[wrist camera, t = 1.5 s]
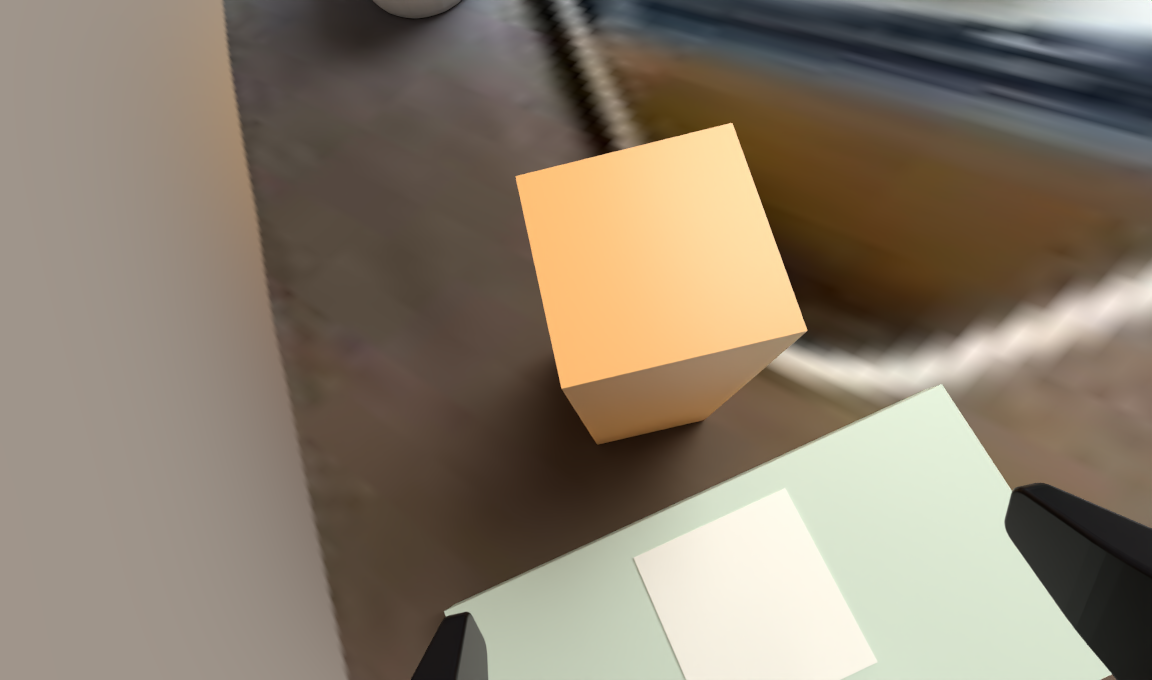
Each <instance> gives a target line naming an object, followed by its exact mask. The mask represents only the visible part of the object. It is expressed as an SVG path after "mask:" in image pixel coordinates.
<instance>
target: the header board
mask: <svg viewBox="0 0 1152 680" xmlns="http://www.w3.org/2000/svg"><path fill="white" fill-rule="evenodd" d="M1011 493H1012V491H1011V489H1010V487H1009V486H1008V484H1007V483H1006V481H1005V480H1004V478H1003V477H1002V475H1001V474H1000V472H999V471H998V469H997V468H996V466H995V465H994V463H993V462H992V460H991V459H990V457H989V455H988V454H987V452H986V451H985V449H984V448H983V446H982V445H981V443H980V442H979V440H978V439H977V437H976V436H975V434H974V433H973V431H972V430H971V428H970V427H969V425H968V423H967V422H966V420H965V419H964V417H963V416H962V414H961V413H960V411H959V410H958V408H957V407H956V405H955V404H954V402H953V401H952V399H951V398H950V396H949V395H948V393H947V391H946V390H945V388H944V387H943V385H942V384H941V385H938V386H935V387H932V388H929V389H926V390H923V391H921V392H919V393H917V394H915V395H912V396H910V397H908V398H906V399H904V400H901V401H899V402H897V403H895V404H893V405H890V406H888V407H886V408H884V409H882V410H879V411H877V412H875V413H873V414H871V415H869V416H866V417H864V418H862V419H860V420H858V421H855V422H853V423H851V424H849V425H847V426H844V427H842V428H840V429H838V430H836V431H833V432H831V433H829V434H827V435H825V436H823V437H820V438H818V439H816V440H814V441H812V442H809V443H807V444H805V445H803V446H801V447H798V448H796V449H794V450H792V451H790V452H787V453H785V454H783V455H781V456H779V457H776V458H774V459H772V460H770V461H768V462H766V463H763V464H761V465H759V466H757V467H755V468H752V469H750V470H748V471H746V472H744V473H741V474H739V475H737V476H735V477H733V478H730V479H728V480H726V481H724V482H722V483H720V484H717V485H715V486H713V487H711V488H709V489H706V490H704V491H702V492H700V493H698V494H695V495H693V496H691V497H689V498H687V499H684V500H682V501H680V502H678V503H676V504H673V505H671V506H669V507H667V508H665V509H663V510H660V511H658V512H656V513H654V514H652V515H649V516H647V517H645V518H643V519H641V520H638V521H636V522H634V523H632V524H630V525H627V526H625V527H623V528H621V529H619V530H617V531H614V532H612V533H610V534H608V535H606V536H603V537H601V538H599V539H597V540H595V541H592V542H590V543H588V544H586V545H584V546H581V547H579V548H577V549H575V550H573V551H571V552H568V553H566V554H564V555H562V556H560V557H557V558H555V559H553V560H551V561H549V562H546V563H544V564H542V565H540V566H538V567H535V568H533V569H531V570H529V571H527V572H524V573H522V574H520V575H518V576H516V577H514V578H511V579H509V580H507V581H505V582H503V583H500V584H498V585H496V586H494V587H492V588H489V589H487V590H485V591H483V592H481V593H478V594H476V595H474V596H472V597H470V598H468V599H465V600H463V601H461V602H459V603H457V604H454V605H453V606H451V607H450V608H448V609H447V610H446V611H444V613H445V616H446V617H447V616H449V615H453V614H457V613H462V612H469V613H471V615H472V616H473V618H474V620H475V622H476V624H477V626H478V628H479V630H480V632H481V633H482V635H483V637H484V640H485V643H486V648H487V660H488V680H1101V679H1103V678H1105V677H1107V676H1109V675H1111V674H1112V673H1111V672H1110V671H1109V670H1108V669H1107V667H1106V666H1105V665H1104V664H1103V663H1102V662H1101V660H1100V659H1099V658H1098V657H1097V656H1096V654H1095V653H1094V652H1093V651H1092V650H1091V648H1090V647H1089V646H1088V645H1087V644H1086V642H1085V641H1084V640H1083V639H1082V638H1081V636H1080V635H1079V634H1078V633H1077V631H1076V630H1075V629H1074V628H1073V626H1072V625H1071V624H1070V622H1069V621H1068V620H1067V618H1066V617H1065V616H1064V614H1063V613H1062V611H1061V610H1060V609H1059V607H1058V606H1057V604H1056V603H1055V601H1054V600H1053V599H1052V597H1051V596H1050V594H1049V593H1048V592H1047V590H1046V589H1045V587H1044V586H1043V584H1042V583H1041V582H1040V580H1039V579H1038V577H1037V576H1036V575H1035V573H1034V572H1033V570H1032V569H1031V567H1030V566H1029V565H1028V563H1027V562H1026V560H1025V559H1024V558H1023V556H1022V555H1021V553H1020V552H1019V550H1018V549H1017V548H1016V546H1015V545H1014V543H1013V542H1012V541H1011V539H1010V538H1009V536H1008V534H1007V532H1006V529H1005V525H1004V520H1005V516H1006V512H1007V508H1008V504H1009V500H1010V496H1011Z"/></svg>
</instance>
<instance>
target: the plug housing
mask: <svg viewBox="0 0 1152 680" xmlns="http://www.w3.org/2000/svg"><path fill="white" fill-rule="evenodd" d="M516 180H517V185H518V190H519V194H520V199H521V204H522V208H523V213H524V217H525V222H526V227H527V231H528V236H529V241H530V245H531V250H532V254H533V259H534V264H535V268H536V273H537V278H538V282H539V287H540V291H541V296H542V301H543V305H544V310H545V315H546V319H547V324H548V328H549V333H550V338H551V342H552V347H553V352H554V356H555V361H556V365H557V370H558V375H559V379H560V384H561V389H562V390H563V392H564V393H565V395H566V397H567V398H568V400H569V401H570V403H571V404H572V406H573V408H574V409H575V411H576V412H577V414H578V415H579V417H580V419H581V420H582V422H583V423H584V425H585V426H586V428H587V429H588V431H589V433H590V434H591V436H592V437H593V439H594V440H595V442H596V444H597V445H599V444H603V443H607V442H612V441H616V440H620V439H625V438H629V437H633V436H638V435H642V434H646V433H650V432H655V431H659V430H663V429H668V428H672V427H676V426H680V425H685V424H689V423H693V422H698V421H702V420H705V419H706V418H707V417H708V416H709V415H711V414H712V413H713V412H714V411H715V410H716V409H718V408H719V407H720V406H721V405H722V404H723V403H724V402H726V401H727V400H728V399H729V398H730V397H731V396H733V395H734V394H735V393H736V392H737V391H738V390H740V389H741V388H742V387H743V386H744V385H745V384H746V383H748V382H749V381H750V380H751V379H752V378H753V377H755V376H756V375H757V374H758V373H759V372H760V371H762V370H763V369H764V368H765V367H766V366H767V365H768V364H770V363H771V362H772V361H773V360H774V359H775V358H777V357H778V356H779V355H780V354H781V353H782V352H783V351H785V350H786V349H787V348H788V347H789V346H790V345H792V344H793V343H794V342H795V341H796V340H797V339H799V338H800V337H801V336H802V335H803V334H804V333H805V332H807V328H806V326H805V323H804V320H803V317H802V314H801V312H800V309H799V306H798V303H797V301H796V298H795V295H794V292H793V290H792V287H791V284H790V281H789V279H788V276H787V273H786V270H785V267H784V265H783V262H782V259H781V256H780V254H779V251H778V248H777V245H776V243H775V240H774V237H773V234H772V232H771V229H770V226H769V223H768V220H767V218H766V215H765V212H764V209H763V207H762V204H761V201H760V198H759V196H758V193H757V190H756V187H755V185H754V182H753V179H752V176H751V173H750V171H749V168H748V165H747V162H746V160H745V157H744V154H743V151H742V149H741V146H740V143H739V140H738V138H737V135H736V132H735V129H734V126H733V124H732V123H730V124H726V125H722V126H718V127H714V128H710V129H705V130H701V131H697V132H693V133H689V134H685V135H681V136H677V137H673V138H669V139H665V140H661V141H657V142H653V143H649V144H645V145H641V146H637V147H632V148H628V149H624V150H620V151H616V152H612V153H608V154H604V155H600V156H596V157H592V158H588V159H584V160H580V161H576V162H572V163H568V164H563V165H559V166H555V167H551V168H547V169H543V170H539V171H535V172H531V173H527V174H523V175H519V176H516Z"/></svg>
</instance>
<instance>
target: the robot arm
mask: <svg viewBox="0 0 1152 680" xmlns="http://www.w3.org/2000/svg"><path fill="white" fill-rule="evenodd" d="M1004 525H1005V529H1006V532H1007V534H1008V536H1009V538H1010V539H1011V541H1012V542H1013V543H1014V545H1015V546H1016V548H1017V549H1018V550H1019V552H1020V553H1021V555H1022V556H1023V558H1024V559H1025V560H1026V562H1027V563H1028V565H1029V566H1030V567H1031V569H1032V570H1033V572H1034V573H1035V575H1036V576H1037V577H1038V579H1039V580H1040V582H1041V583H1042V584H1043V586H1044V587H1045V589H1046V590H1047V592H1048V593H1049V594H1050V596H1051V597H1052V599H1053V600H1054V601H1055V603H1056V604H1057V606H1058V607H1059V609H1060V610H1061V611H1062V613H1063V614H1064V616H1065V617H1066V618H1067V620H1068V621H1069V622H1070V624H1071V625H1072V626H1073V628H1074V629H1075V630H1076V631H1077V633H1078V634H1079V635H1080V636H1081V638H1082V639H1083V640H1084V641H1085V642H1086V644H1087V645H1088V646H1089V647H1090V648H1091V650H1092V651H1093V652H1094V653H1095V654H1096V656H1097V657H1098V658H1099V659H1100V660H1101V662H1102V663H1103V664H1104V665H1105V666H1106V667H1107V669H1108V670H1109V671H1110V672H1111V673H1112V675H1113V676H1114V677H1115V678H1116V679H1117V680H1152V528H1149V527H1147V526H1145V525H1142V524H1140V523H1138V522H1135V521H1133V520H1131V519H1128V518H1126V517H1124V516H1121V515H1119V514H1117V513H1114V512H1112V511H1110V510H1107V509H1105V508H1103V507H1100V506H1098V505H1096V504H1093V503H1091V502H1089V501H1086V500H1084V499H1082V498H1079V497H1077V496H1075V495H1072V494H1070V493H1068V492H1065V491H1063V490H1061V489H1058V488H1056V487H1054V486H1051V485H1048V484H1045V483H1033V484H1029V485H1024V486H1020V487H1017V488H1015V489H1014V490H1013V491H1012V493H1011V496H1010V500H1009V504H1008V508H1007V512H1006V516H1005V520H1004ZM411 680H488V660H487V648H486V643H485V640H484V637H483V635H482V633H481V632H480V630H479V628H478V626H477V624H476V622H475V620H474V618H473V616H472V615H471V613H469V612H462V613H457V614H453V615H449V616H447V617H446V618H444V619H443V621H442V622H441V624H440V626H439V628H438V630H437V632H436V633H435V635H434V637H433V639H432V641H431V643H430V645H429V646H428V648H427V650H426V652H425V654H424V656H423V658H422V660H421V661H420V663H419V665H418V667H417V669H416V671H415V673H414V674H413V676H412V678H411Z"/></svg>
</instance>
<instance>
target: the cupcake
mask: <svg viewBox="0 0 1152 680" xmlns="http://www.w3.org/2000/svg"><path fill="white" fill-rule="evenodd" d="M373 1H374V2H375V3H376V4H377V5H378V6H380V7H381V8H382V9H384V10H385V11H387V12H388V13H391V14H394V15H397V16H400V17H406V18H423V17H429V16H433V15H436V14H439V13H442V12H445V11H447V10H448V9H450V8H452V7H453V6H455V5H456V4H458V3H459V2H460V1H461V0H373Z"/></svg>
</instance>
